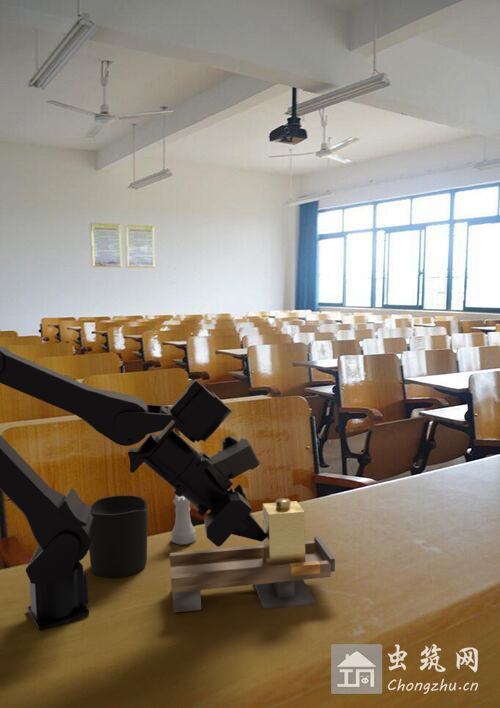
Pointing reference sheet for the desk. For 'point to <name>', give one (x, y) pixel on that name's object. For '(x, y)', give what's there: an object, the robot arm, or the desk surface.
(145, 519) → the pen holder
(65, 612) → the robot arm
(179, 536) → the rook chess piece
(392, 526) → the desk surface
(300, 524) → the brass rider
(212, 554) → the balance beam
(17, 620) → the desk surface
